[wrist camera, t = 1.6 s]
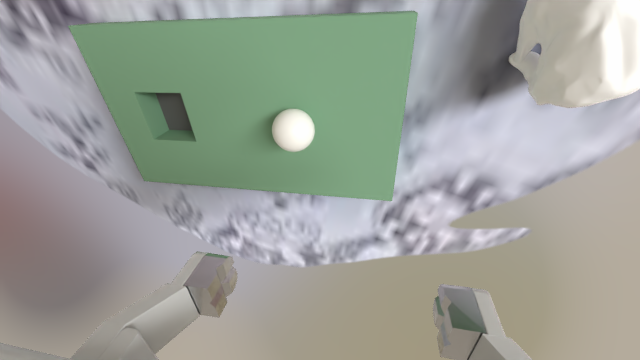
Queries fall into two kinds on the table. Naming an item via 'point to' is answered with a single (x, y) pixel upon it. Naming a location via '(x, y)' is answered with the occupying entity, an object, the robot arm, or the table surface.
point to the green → (258, 98)
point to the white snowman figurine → (579, 50)
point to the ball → (293, 130)
